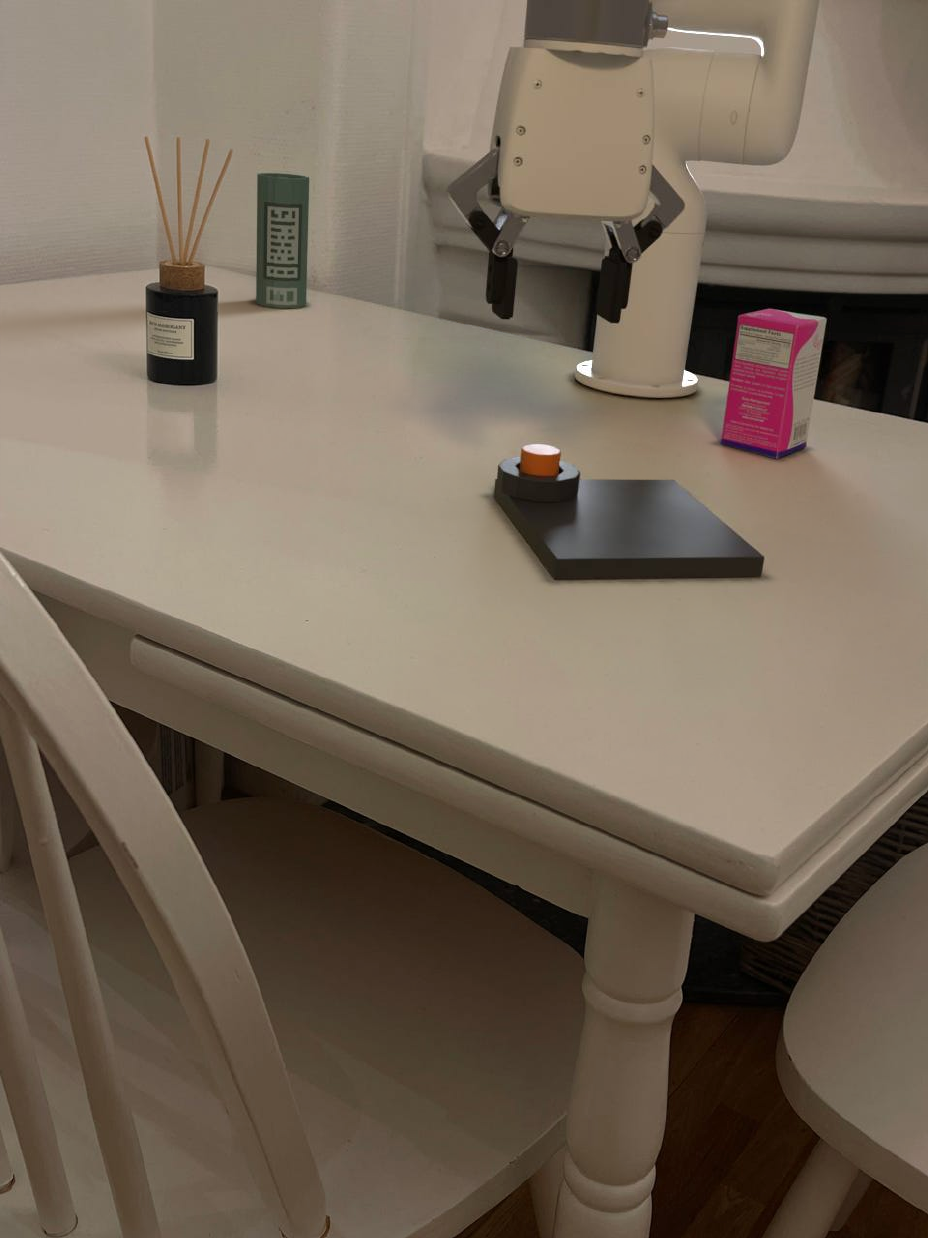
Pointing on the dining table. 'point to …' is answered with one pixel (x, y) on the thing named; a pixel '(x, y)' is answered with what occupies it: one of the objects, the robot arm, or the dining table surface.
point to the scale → (620, 527)
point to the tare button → (540, 460)
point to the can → (282, 240)
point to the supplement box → (772, 381)
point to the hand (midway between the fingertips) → (555, 315)
